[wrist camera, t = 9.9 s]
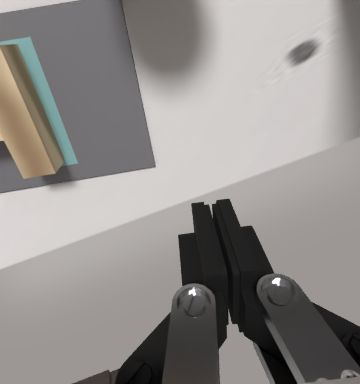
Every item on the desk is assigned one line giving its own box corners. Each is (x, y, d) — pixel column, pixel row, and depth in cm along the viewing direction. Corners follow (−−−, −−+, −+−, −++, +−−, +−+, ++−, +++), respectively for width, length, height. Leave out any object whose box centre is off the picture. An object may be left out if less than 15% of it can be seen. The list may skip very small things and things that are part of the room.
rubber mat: (119, -6, 27) (118, -7, 27) (155, 165, 37) (155, 166, 37) (-146, 37, 27) (-149, 37, 27) (-37, 197, 37) (-38, 198, 37)
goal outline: (31, 36, 28) (30, 36, 28) (78, 162, 36) (78, 163, 36) (-87, 56, 28) (-89, 56, 28) (-14, 177, 36) (-15, 178, 36)
